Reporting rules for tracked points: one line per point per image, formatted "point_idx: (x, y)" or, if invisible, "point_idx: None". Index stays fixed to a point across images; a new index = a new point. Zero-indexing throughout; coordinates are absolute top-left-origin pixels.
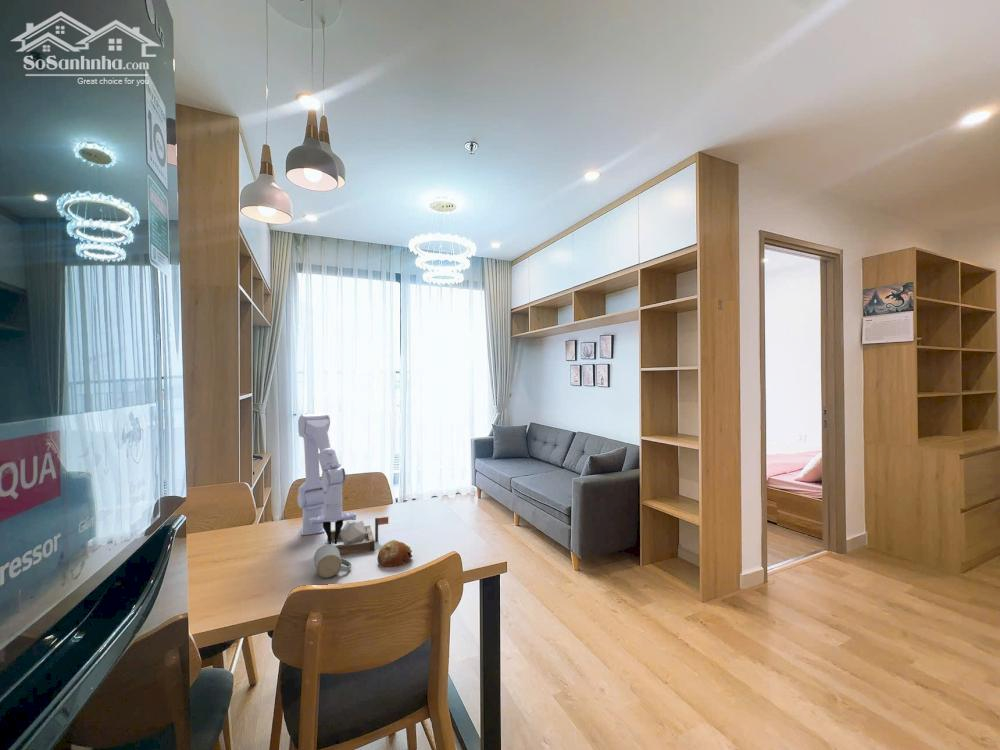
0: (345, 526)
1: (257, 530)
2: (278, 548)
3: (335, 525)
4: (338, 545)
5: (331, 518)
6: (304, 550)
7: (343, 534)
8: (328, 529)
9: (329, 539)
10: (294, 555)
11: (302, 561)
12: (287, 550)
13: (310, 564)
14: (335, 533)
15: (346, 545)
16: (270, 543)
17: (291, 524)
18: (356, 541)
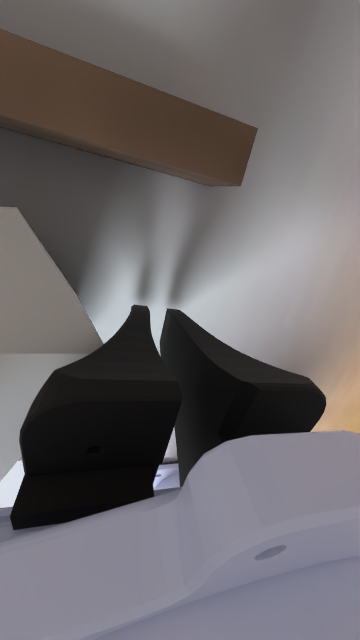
0: (18, 414)
1: None
2: (328, 392)
3: (177, 390)
4: (143, 142)
5: (354, 593)
6: (275, 338)
7: (66, 314)
8: (245, 367)
9: (191, 321)
10: (329, 304)
11: (349, 198)
12: (319, 365)
13: (350, 98)
14: (150, 339)
15: (44, 55)
16: (322, 431)
17: None
18: None
